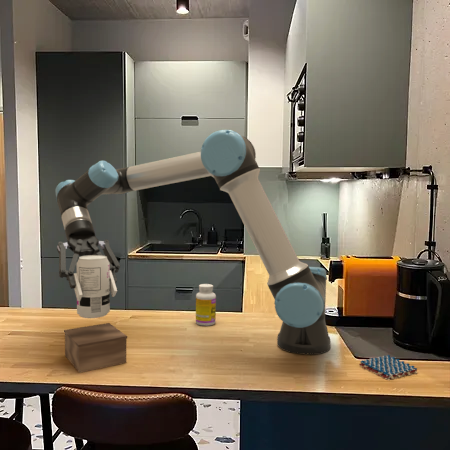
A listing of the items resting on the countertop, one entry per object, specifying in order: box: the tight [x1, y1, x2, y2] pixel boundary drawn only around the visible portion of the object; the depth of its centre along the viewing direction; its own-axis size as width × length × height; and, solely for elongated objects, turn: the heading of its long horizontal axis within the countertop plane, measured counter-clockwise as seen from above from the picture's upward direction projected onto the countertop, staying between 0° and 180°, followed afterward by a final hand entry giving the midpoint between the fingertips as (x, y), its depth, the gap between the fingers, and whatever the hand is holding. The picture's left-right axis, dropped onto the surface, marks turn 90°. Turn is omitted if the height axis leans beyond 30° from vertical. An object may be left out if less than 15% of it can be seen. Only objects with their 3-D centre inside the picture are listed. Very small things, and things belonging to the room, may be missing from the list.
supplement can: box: [76, 255, 111, 319], centre depth 119 cm, size 8×8×15 cm
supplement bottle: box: [195, 283, 217, 327], centre depth 152 cm, size 7×7×13 cm
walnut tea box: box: [63, 322, 128, 373], centre depth 120 cm, size 13×12×7 cm
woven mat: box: [359, 354, 418, 381], centre depth 116 cm, size 10×11×2 cm
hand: (97, 295), depth 116 cm, fingers closed on supplement can, 8 cm apart
